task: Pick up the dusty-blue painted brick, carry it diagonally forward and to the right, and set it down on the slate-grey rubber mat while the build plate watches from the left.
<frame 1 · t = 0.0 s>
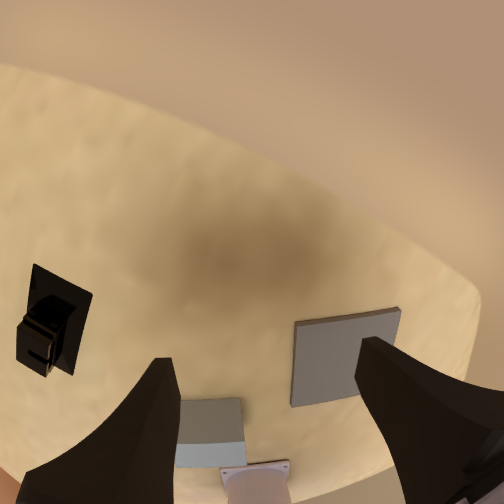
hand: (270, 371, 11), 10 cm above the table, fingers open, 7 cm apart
brick: (207, 413, 24), on the table
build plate: (55, 321, 21), on the table
mat: (343, 359, 24), on the table
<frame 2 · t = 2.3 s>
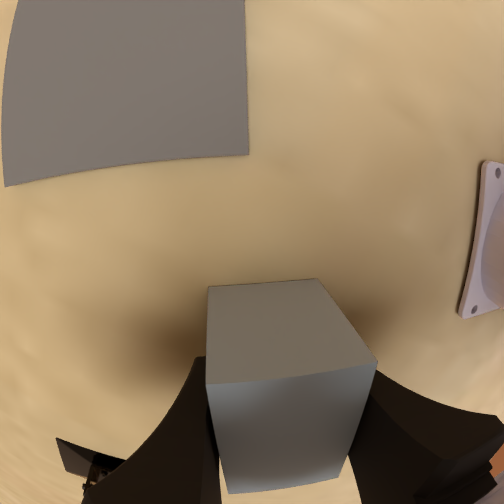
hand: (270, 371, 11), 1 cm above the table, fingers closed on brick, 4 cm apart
brick: (264, 349, 12), on the table, touching gripper
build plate: (123, 468, 15), on the table
mat: (111, 43, 7), on the table
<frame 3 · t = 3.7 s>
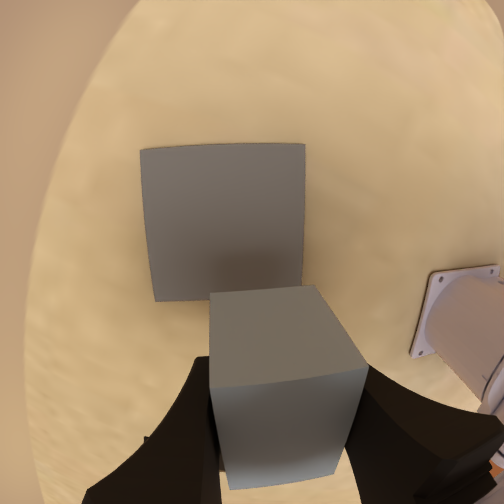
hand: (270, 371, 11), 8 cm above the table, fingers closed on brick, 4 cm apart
brick: (263, 351, 12), point 7 cm above the table, touching gripper
mat: (224, 223, 17), on the table
when the fingers open (3 cm above the table, at t = 5.4 s): brick stays where it is, resting on mat.
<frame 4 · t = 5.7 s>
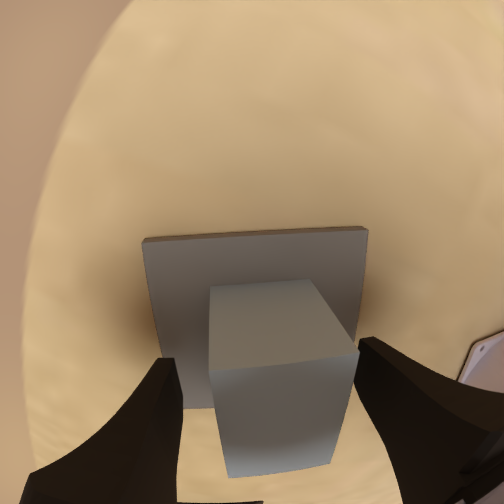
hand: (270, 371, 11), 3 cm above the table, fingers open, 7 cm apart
brick: (262, 343, 13), point 1 cm above the table, touching mat
mat: (259, 328, 13), on the table
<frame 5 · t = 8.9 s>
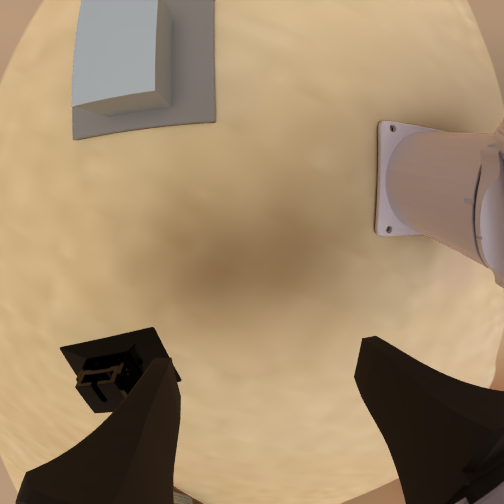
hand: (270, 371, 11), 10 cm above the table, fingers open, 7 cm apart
brick: (139, 65, 14), point 1 cm above the table, touching mat
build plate: (118, 360, 22), on the table
mat: (141, 61, 15), on the table
milk carton: (158, 497, 30), on the table
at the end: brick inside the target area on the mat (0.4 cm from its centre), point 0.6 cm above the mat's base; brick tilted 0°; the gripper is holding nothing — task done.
